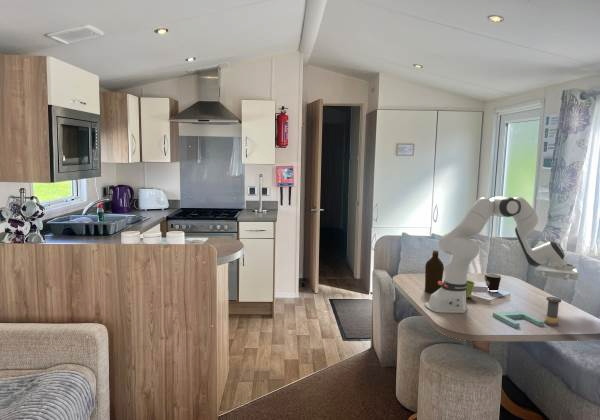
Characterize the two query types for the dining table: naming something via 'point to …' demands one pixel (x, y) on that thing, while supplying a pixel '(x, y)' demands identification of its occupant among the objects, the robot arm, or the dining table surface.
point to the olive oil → (433, 273)
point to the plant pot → (469, 288)
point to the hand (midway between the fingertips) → (555, 277)
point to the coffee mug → (492, 281)
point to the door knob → (552, 311)
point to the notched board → (510, 315)
